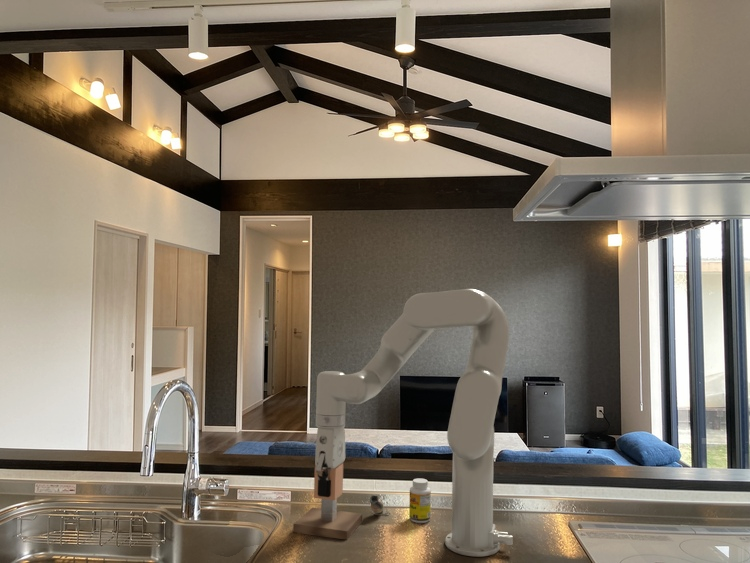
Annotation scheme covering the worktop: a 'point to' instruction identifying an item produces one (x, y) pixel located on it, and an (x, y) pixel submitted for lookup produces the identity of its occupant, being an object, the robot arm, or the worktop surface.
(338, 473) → the peach upright block
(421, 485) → the supplement bottle
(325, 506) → the metal post
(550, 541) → the worktop surface
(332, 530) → the walnut base board
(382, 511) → the bird figurine
